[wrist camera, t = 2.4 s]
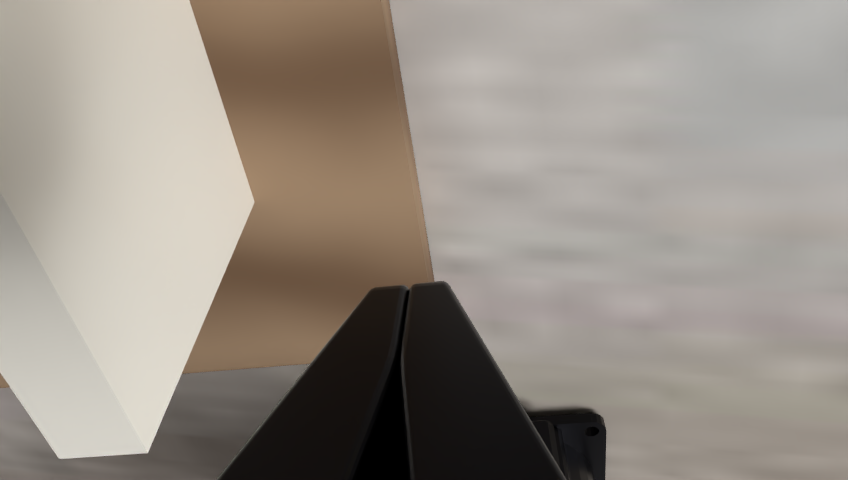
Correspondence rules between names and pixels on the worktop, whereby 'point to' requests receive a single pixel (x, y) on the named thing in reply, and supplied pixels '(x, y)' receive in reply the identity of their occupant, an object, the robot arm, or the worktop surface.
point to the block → (109, 213)
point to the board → (309, 175)
